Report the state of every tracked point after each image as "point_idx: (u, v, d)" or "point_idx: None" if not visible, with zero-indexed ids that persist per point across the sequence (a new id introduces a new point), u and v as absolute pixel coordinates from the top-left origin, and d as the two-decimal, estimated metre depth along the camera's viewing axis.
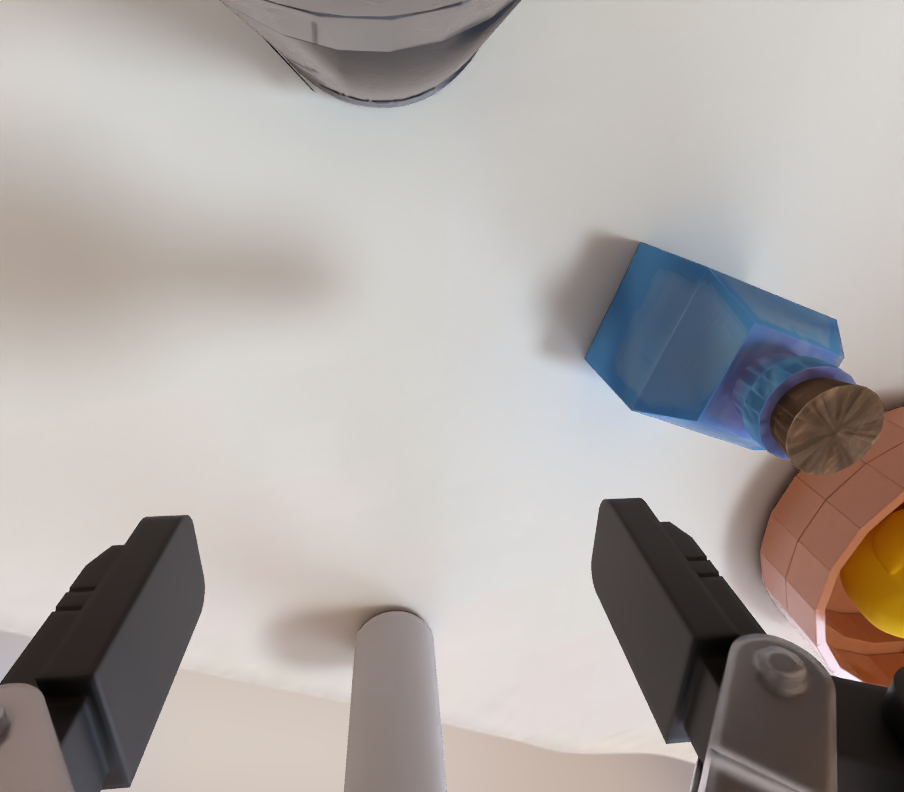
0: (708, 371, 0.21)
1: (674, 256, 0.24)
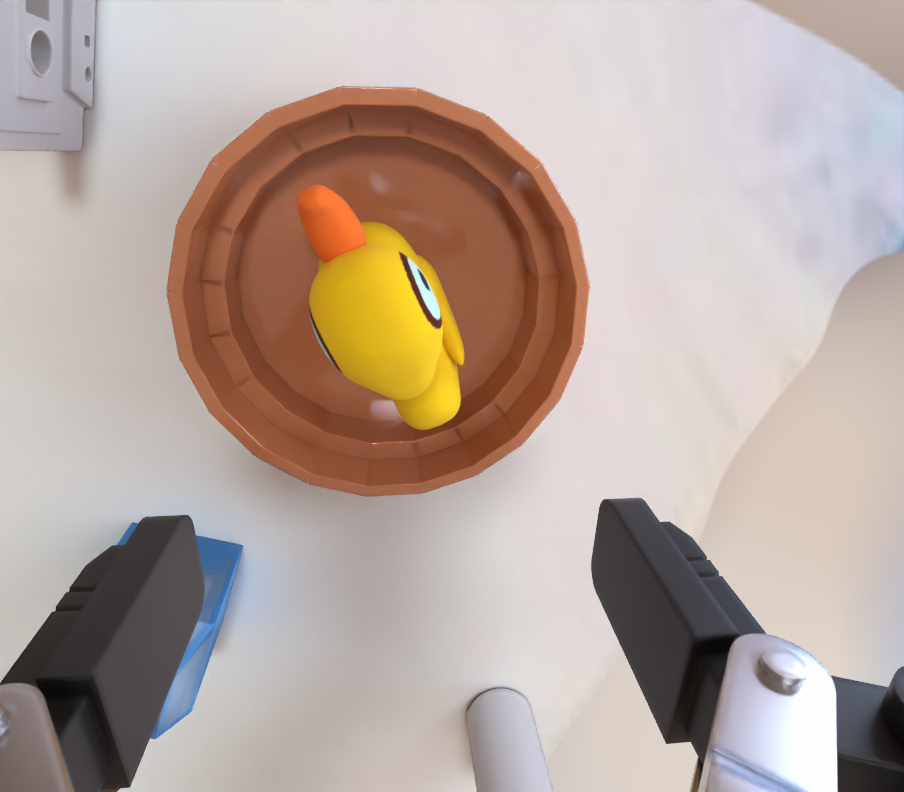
0: None
1: None
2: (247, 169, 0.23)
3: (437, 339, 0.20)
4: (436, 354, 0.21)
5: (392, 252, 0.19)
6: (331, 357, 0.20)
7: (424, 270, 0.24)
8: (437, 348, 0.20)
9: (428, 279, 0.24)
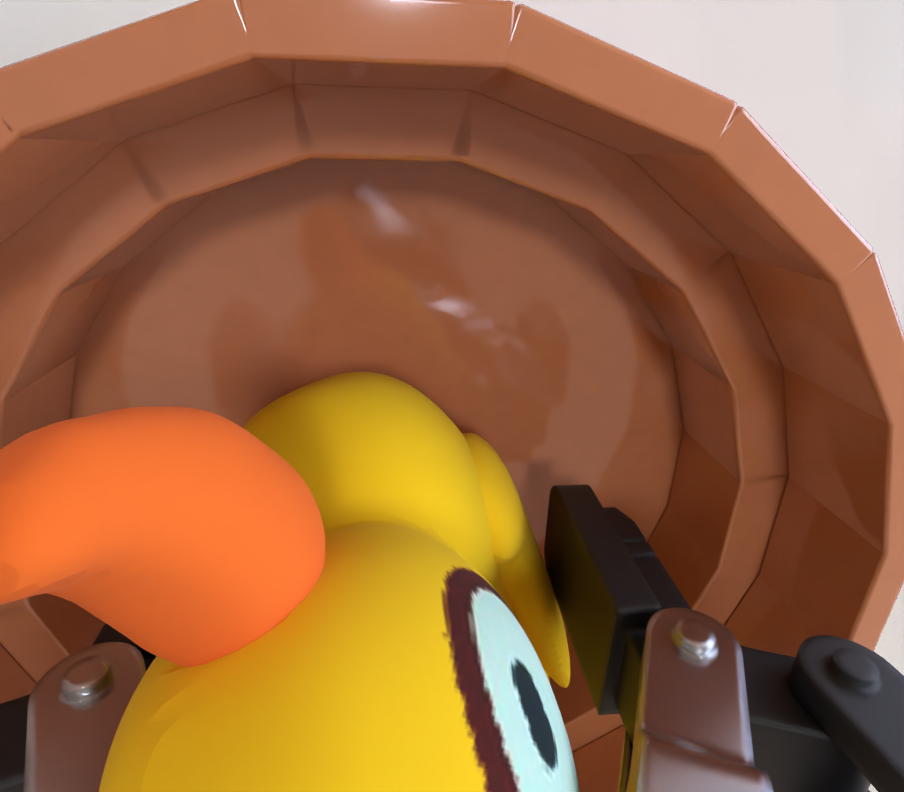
0: None
1: None
2: (16, 246, 0.08)
3: None
4: None
5: (424, 651, 0.05)
6: None
7: (490, 497, 0.10)
8: None
9: (500, 520, 0.10)
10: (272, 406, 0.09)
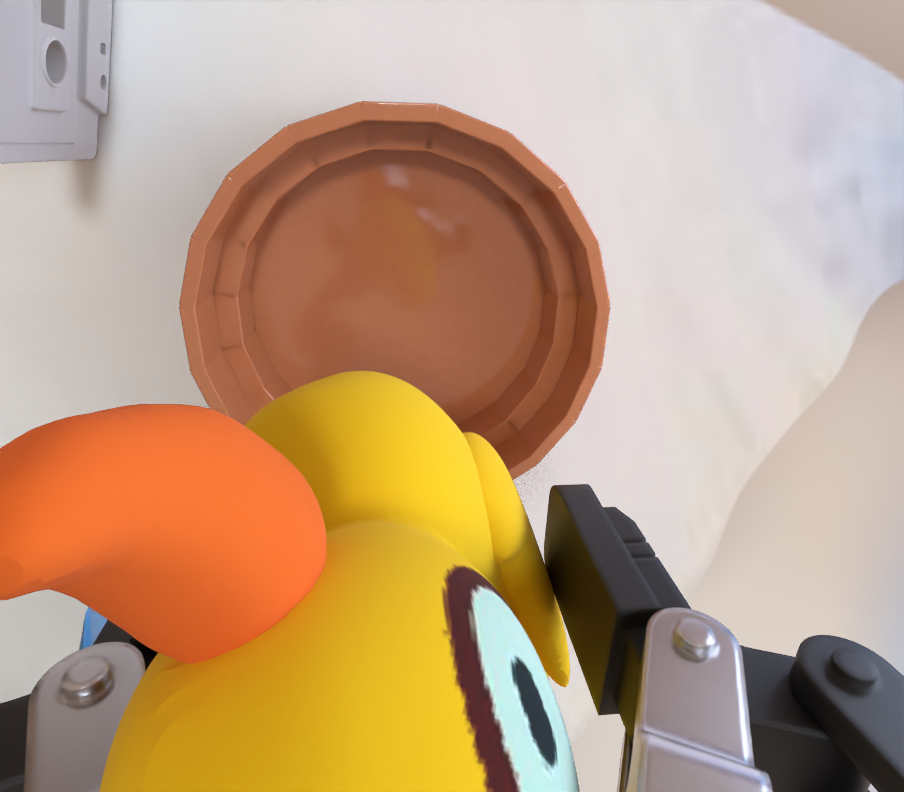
0: None
1: None
2: (263, 182, 0.23)
3: None
4: None
5: (424, 647, 0.05)
6: None
7: (490, 496, 0.10)
8: None
9: (500, 519, 0.10)
10: (273, 405, 0.09)
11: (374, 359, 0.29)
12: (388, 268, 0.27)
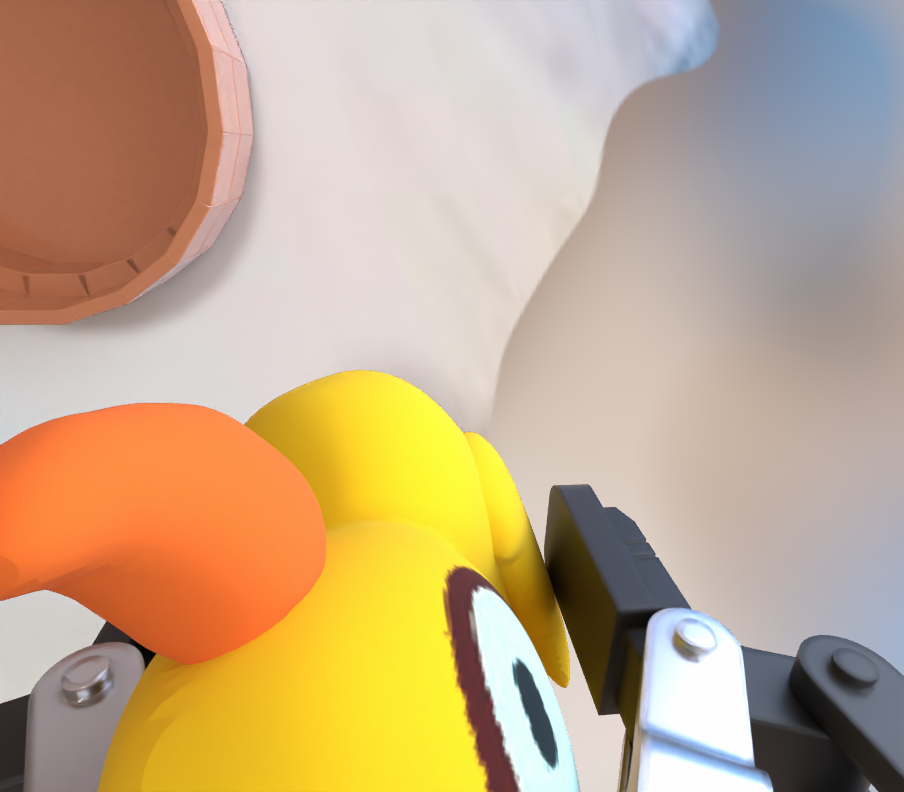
0: None
1: None
2: None
3: None
4: None
5: (425, 648, 0.05)
6: None
7: (490, 496, 0.10)
8: None
9: (500, 519, 0.10)
10: (273, 404, 0.09)
11: (23, 163, 0.25)
12: (13, 42, 0.23)
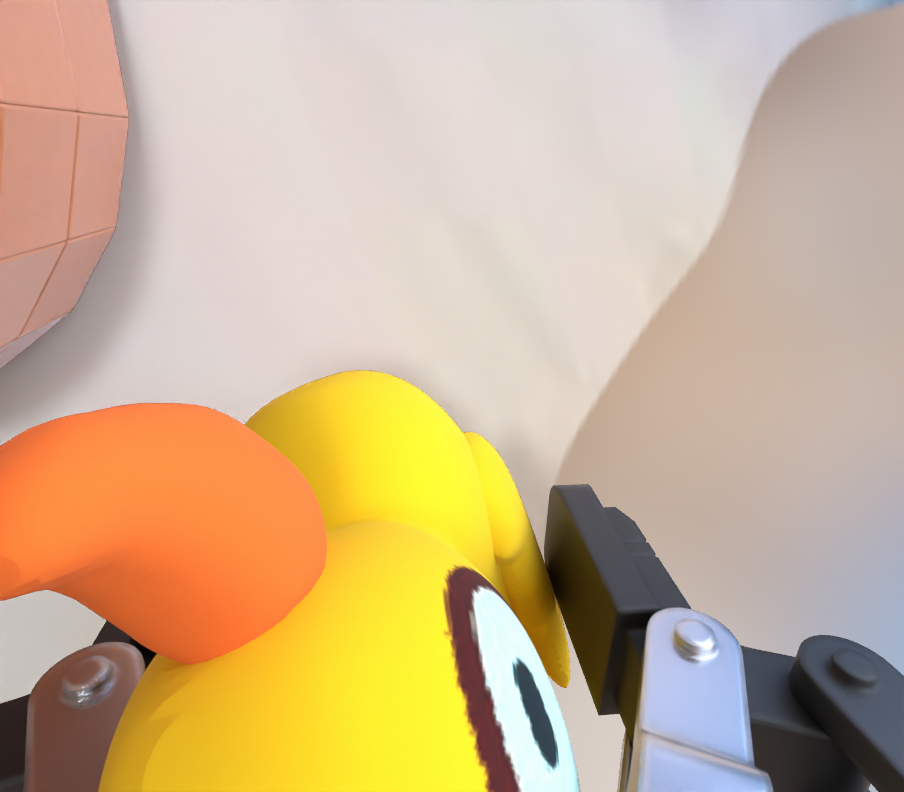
0: None
1: None
2: None
3: None
4: None
5: (425, 649, 0.05)
6: None
7: (491, 497, 0.10)
8: None
9: (500, 519, 0.10)
10: (273, 404, 0.09)
11: None
12: None
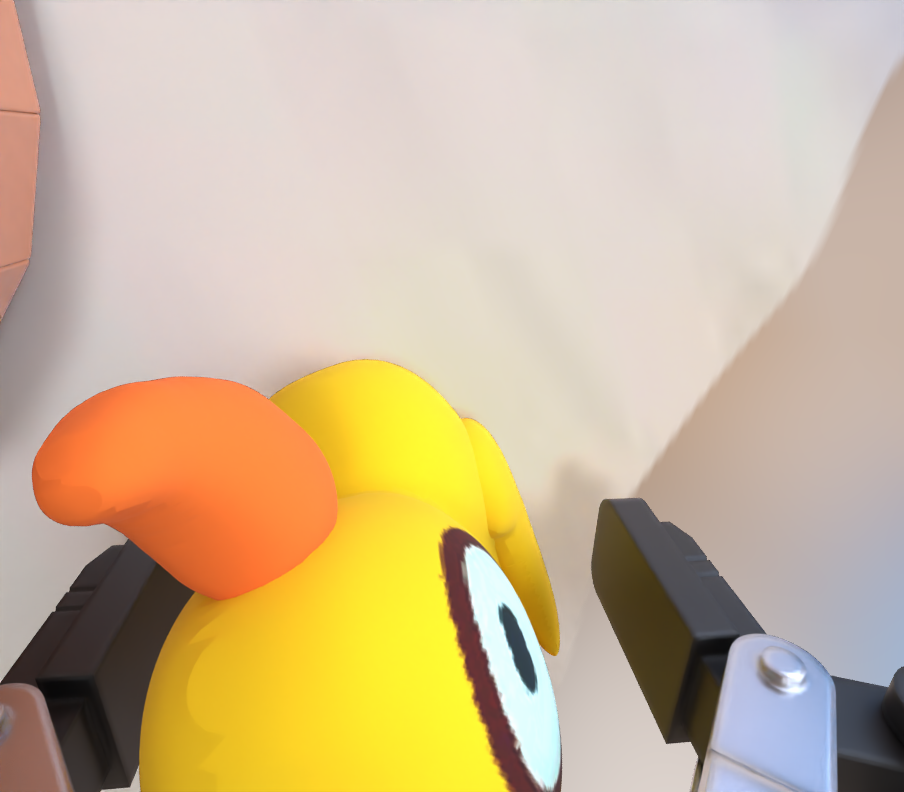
0: None
1: None
2: None
3: None
4: None
5: (422, 587, 0.06)
6: None
7: (485, 475, 0.10)
8: None
9: (494, 496, 0.10)
10: (286, 389, 0.10)
11: None
12: None
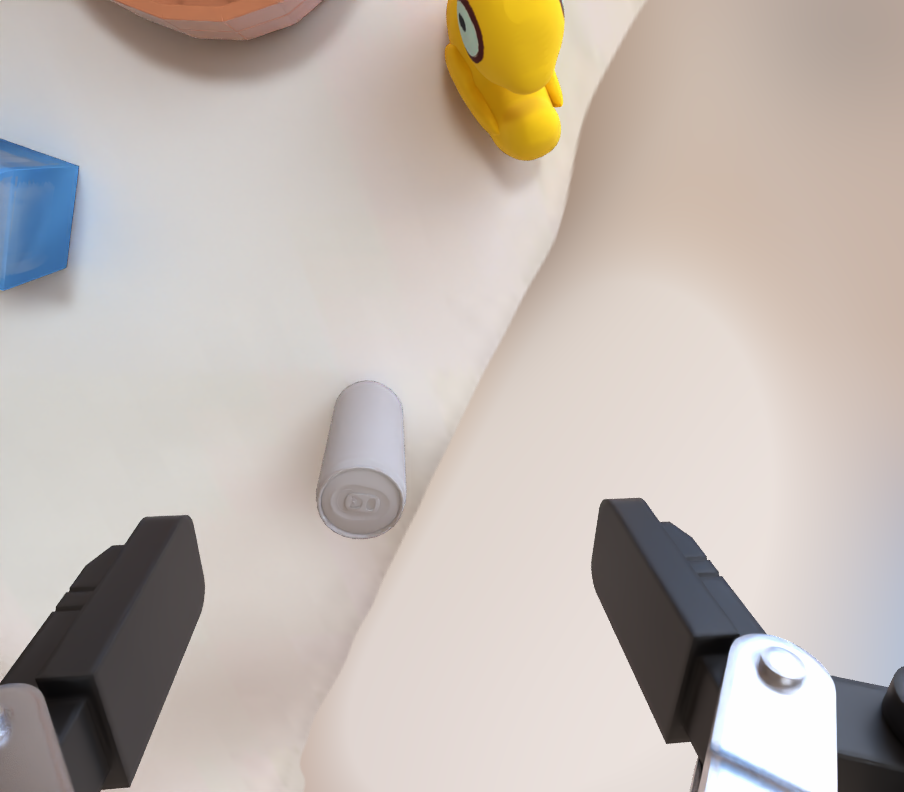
0: None
1: None
2: None
3: (562, 26, 0.25)
4: (559, 44, 0.25)
5: None
6: (479, 33, 0.24)
7: None
8: (561, 37, 0.25)
9: None
10: None
11: None
12: None
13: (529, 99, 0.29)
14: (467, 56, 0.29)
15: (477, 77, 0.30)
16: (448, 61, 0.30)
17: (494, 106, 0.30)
